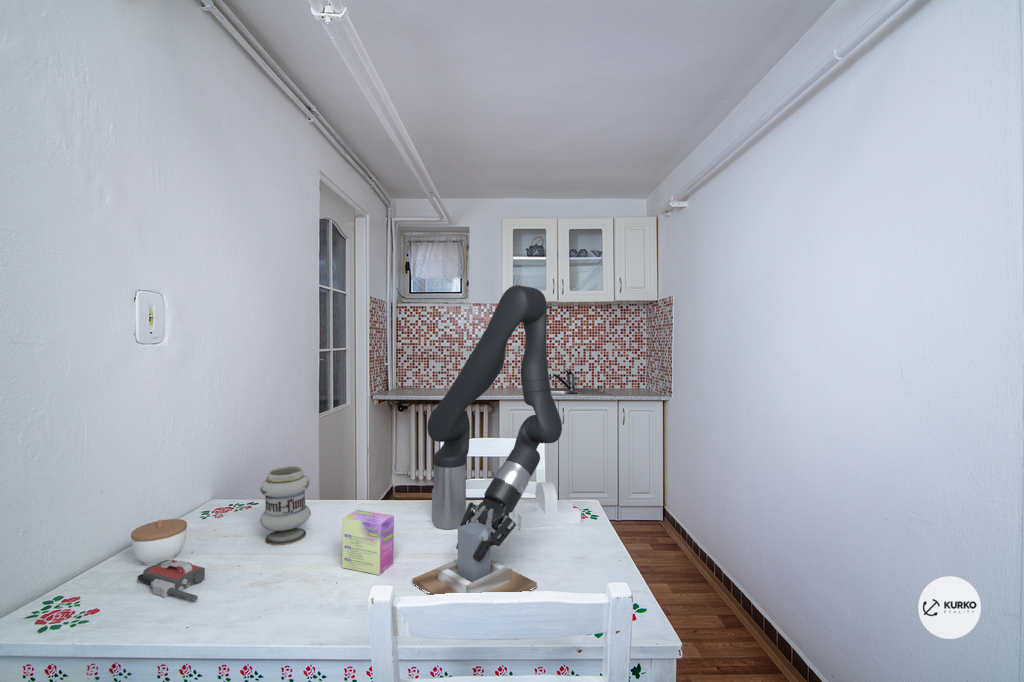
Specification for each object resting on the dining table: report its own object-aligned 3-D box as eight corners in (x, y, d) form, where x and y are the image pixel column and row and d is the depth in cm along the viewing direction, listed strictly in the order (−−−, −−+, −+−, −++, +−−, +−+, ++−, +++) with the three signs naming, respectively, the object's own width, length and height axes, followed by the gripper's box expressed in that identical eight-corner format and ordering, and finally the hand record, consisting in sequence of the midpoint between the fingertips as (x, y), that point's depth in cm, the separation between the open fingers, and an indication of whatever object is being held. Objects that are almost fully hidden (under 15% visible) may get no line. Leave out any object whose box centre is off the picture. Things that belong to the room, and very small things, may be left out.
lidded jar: (182, 545, 119) (182, 509, 119) (191, 559, 112) (191, 520, 112) (128, 559, 112) (128, 520, 112) (133, 575, 104) (133, 533, 104)
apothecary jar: (249, 542, 121) (249, 473, 121) (287, 525, 132) (287, 462, 132) (283, 550, 117) (283, 479, 117) (320, 532, 128) (320, 466, 128)
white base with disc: (569, 511, 144) (569, 476, 144) (581, 524, 135) (581, 485, 135) (512, 516, 140) (512, 480, 140) (520, 529, 131) (520, 490, 131)
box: (394, 564, 110) (394, 514, 110) (379, 576, 104) (380, 523, 104) (357, 557, 113) (357, 509, 113) (341, 568, 108) (341, 517, 108)
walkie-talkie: (126, 588, 99) (191, 608, 92) (126, 567, 99) (191, 585, 92) (168, 569, 108) (231, 586, 101) (169, 550, 108) (231, 565, 101)
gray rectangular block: (457, 573, 100) (457, 527, 100) (475, 565, 104) (475, 520, 104) (472, 582, 97) (472, 534, 97) (490, 573, 100) (490, 527, 100)
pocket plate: (412, 584, 101) (412, 566, 101) (475, 556, 114) (475, 541, 114) (471, 624, 87) (471, 604, 87) (536, 588, 99) (536, 570, 99)
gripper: (478, 470, 110) (437, 536, 102) (522, 484, 100) (480, 558, 92) (495, 487, 114) (456, 552, 106) (539, 502, 104) (499, 575, 96)
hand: (467, 554), depth 99 cm, fingers closed on gray rectangular block, 5 cm apart
